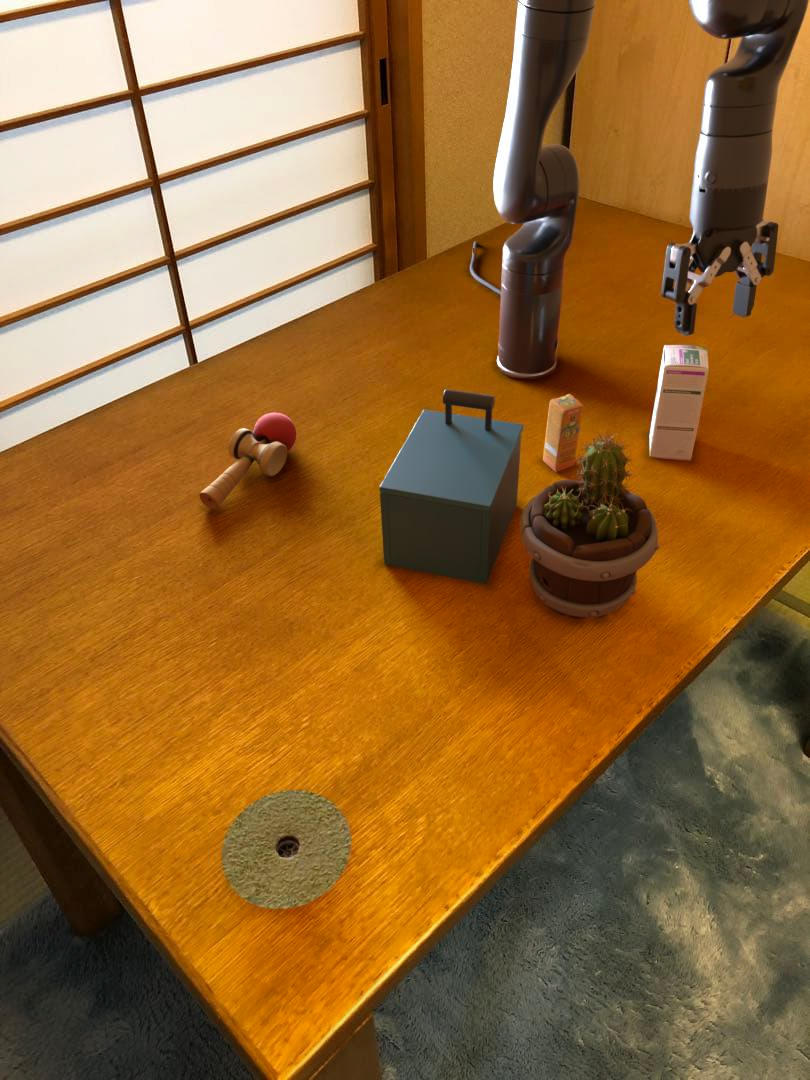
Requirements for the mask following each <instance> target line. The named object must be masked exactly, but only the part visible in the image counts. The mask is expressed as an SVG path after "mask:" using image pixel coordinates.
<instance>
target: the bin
mask: <svg viewBox="0 0 810 1080" xmlns="http://www.w3.org/2000/svg"><path fill="white" fill-rule="evenodd" d="M521 447H522V435H521V436H520V439H519V441H518V444H517V446H516V449H515V451H514V454H513V456H512V459H511V461H510V464H509V466H508V469H507V471H506V474H505V476H504V479H503V481H502V484H501V486H500V489H499V491H498V494H497V496H496V499H495V501H494V503H493V506H492V508H491V511H490V512H487V511H481V510H476V509H470V508H465V507H459V506H453V505H448V504H442V503H436V502H431V501H425V500H419V499H414V498H408V497H403V496H397V495H391V494H386V493H380V492H379V501H380V502H379V503H380V517H381V533H382V549H383V563H384V565H387V566H391V567H396V568H400V569H405V570H412V571H417V572H421V573H427V574H432V575H435V576H436V575H437V576H442V577H446V578H451V579H455V580H456V579H457V580H461V581H466V582H472V583H477V584H482V585H486V586H487V585H488V583H489V580H490V578H491V575H492V572H493V569H494V567H495V564H496V562H497V559H498V557H499V555H500V551H501V548H502V545H503V543H504V540H505V538H506V534H507V532H508V529H509V527H510V524H511V521H512V519H513V516H514V513H515V510H516V508H517V505H518V493H519V479H520V478H519V477H520V463H521V462H520V461H521V449H522V448H521Z"/></svg>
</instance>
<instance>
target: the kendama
mask: <svg viewBox="0 0 810 1080" xmlns="http://www.w3.org/2000/svg"><path fill="white" fill-rule="evenodd" d="M296 440H297V428H296V425H295V423H294V422H293V420H292V419H290V417H288V416H287V415H285V414H283V413H280V412H268V413H265V414H264V415H262V416H260V417H259V418H258V420H257V421H256V422H255V424H254V427H253V431H252V430H250V429H248V428H244V427H242V428H239V429H237V430H236V431H235V432H234V433H233V435H232V436H231V438H230V440H229V443H228V446H227V447H228V449H227V450H228V451H227V452H228V454H229V456H230V457H232V458H234V459H235V460H237V461H236V462H234V463H233V464H232V465H230V466H229V467H227V469H226V470H224V471H223V472H222V474H220V475H219V476H218V477H217V478H216V479H214V480H213V482H211V483H210V484H209V485H208V486H207V487H206V488H204V489H203V490H202V491H201V492H200V493H199V499H200V501H201V502H202V504H203V505H204V506H205V507H207V508H208V509H211V510H213V511H215V510H218V509H219V507H220V506H221V505H222V504H223V502H224V501H225V500H226V499H227V498H228V496H229V495H230V494H231V492H232V491H233V490H234V488H235V487H236V486H237V485H238V484H239V483H240V481H241V480H242V479H243V478H244V476H245V475H246V473H247V472H248V471H249V469H250V468H251V466H252V465H253V463H254V462H256V463H257V464H258V467H259V469H260V472H261V473H262V474H263V475H266V476H268V477H274V476H276V475H278V473H279V472H281V470H282V469H283V467H284V465H285V463H286V460H287V457H288V452H289V451H290V450H291V449H292V448H293V447H294V446H295V444H296Z"/></svg>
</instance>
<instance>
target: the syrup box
mask: <svg viewBox="0 0 810 1080" xmlns="http://www.w3.org/2000/svg"><path fill="white" fill-rule="evenodd" d="M660 362H661V363H660V366H659V367H660V368H659V372H658V373H659V374H658V379H657V386H656V393H655V398H654V404H653V409H652V410H653V411H652V417H651V423H650V429H649V457H651V458H656V459H666V460H679V461H691V459H692V457H693V451H694V448H695V442H696V438H697V434H698V428H699V422H700V419H701V418H700V417H701V412H702V407H703V402H704V396H705V391H706V387H707V386H706V385H707V381H708V375H709V370H710V367H709V355H708V348H707V347H705V346H699V345H698V346H697V345H690V344H664V346H663V350H662V357H661V361H660Z"/></svg>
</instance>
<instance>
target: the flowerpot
mask: <svg viewBox="0 0 810 1080" xmlns="http://www.w3.org/2000/svg"><path fill="white" fill-rule="evenodd" d="M596 434H598V436H599V438H598V437H596V436H594V437H593V438H592V443H591V442H588V441H586V443H585V444H586V445H585V444H583V443H582V445H583V448H582V449H581V450H580V451H582V450H585V454H584V453H582V455H577V457H576V456H575V457H574V458H575V460H578V461H577V463H576V466H578V467H580V465H581V467H580V468H579V470H576V472H577V473H575V476H576V478H575V480H574V479H563V480H562V479H561V480H558V481H554V482H553V483H552V484H550V485H547V486H546V487H545V488H544V489H543V490H541V492H539V493H537V494H536V495H535V496H533V497H532V498H531V499H530V500H529V501H528V503H527V504H526V506H525V507H524V509H522V510H521V518H520V538H521V542H522V545H523V546H524V548H525V550H526V552H527V553H528V555H529V556H530V557H531V559H530V561H529V576H530V577H529V578H530V582H531V585H532V588H533V590H534V593H535V594H536V596H537V597H538V598H539V600H540V601H542V603H543V604H544V605H545V606H546V607H547V608H549V609H550V610H551V611H553V612H555V613H556V614H558V615H560V616H563V617H565V616H568V617H569V618H571V619H574V620H584V619H587V618H599V619H601V618H604V617H607V616H608V615H609V614H611V613H614V612H616V611H617V610H619V609H621V608H622V607H623V606H624V605H625V604H626V603H628V601H629V600H630V598H631V597H632V595H635V594H636V586H637V584H638V583H637V582H638V575H637V572H638V571H639V570H640V569H641V568H643V567H644V566H645V565H647V564H648V562H650V561H651V559H652V558H653V556H654V555H655V554H656V552H657V551H658V550H659V549H660V545H659V544H658V542H659V529H658V524H657V521H656V517H655V515H654V514H653V512H652V511H651V509H650V508H649V507H648V505H647V503H646V501H645V500H644V499H643V498H642V497H641V496H639V495H638V494H635V493H632V492H630V490H629V489H630V488H632V487H630V485H629V486H628V485H627V484H628V483H629V481H628V479H629V480H631V477H635V475H634V474H631V471H632V468H631V465H633V463H632V461H633V460H632V459H631V455H632V454H631V453H630V454H629V457H628V456H627V455H628V452H629V451H630V449H629V448H626V447H625V446H628V445H629V443H626V444H625V443H623V442H622V441H620V439H621V437H618V438H617V441H616V437H615V436H618V435H619V433H616V434H614V435H613V436H611V435H612V434H611V429H610V430H609V429H607V431H606V435H605V436H604V435H602V434H601V433H600V432H597V431H596ZM619 441H620V442H619ZM618 442H619V443H618ZM622 450H623V451H622ZM625 450H628V451H627V452H626V453H625ZM630 464H631V465H630ZM626 466H629V467H630V470H627V469H626ZM627 478H628V479H627ZM578 480H580V481H578ZM625 481H626V482H625ZM624 482H625V483H624ZM628 488H629V489H628Z"/></svg>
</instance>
